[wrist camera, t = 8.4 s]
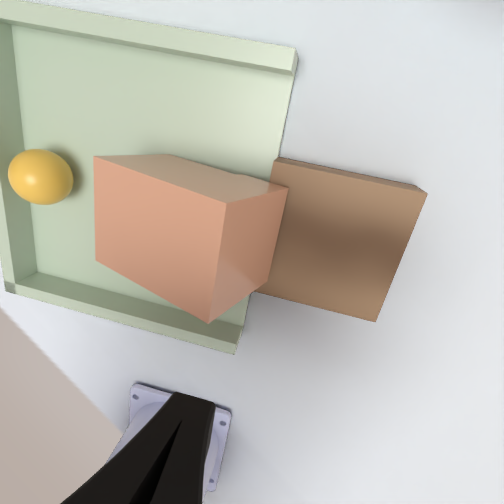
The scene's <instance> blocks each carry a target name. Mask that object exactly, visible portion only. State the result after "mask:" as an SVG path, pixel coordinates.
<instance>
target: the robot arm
mask: <svg viewBox="0 0 504 504" xmlns="http://www.w3.org/2000/svg"><path fill="white" fill-rule="evenodd" d="M230 421H231V414H230V412H229V411H227V410H224V409H220V408H217V407H216V405H215V404H214V402H211V401H207V400H204V399H200V398H197V397H193V396H190V395H186V394H182V393H179V392H175V393H173V394H170V393H167V392H163V391H160V390H156V389H153V388H150V387H146V386H143V385H140V384H134V385H133V386H132V387H131V389H130V408H129V426H128V428H127V430H126V431H125V433H124V434H123V436H122V438H121V439H120V441H119V442H118V444H117V446H116V447H115V449H114V451H113V452H112V454H111V455H110V457H109V459H108V460H107V462H106V464H105V465H104V466H103V467H102V468H101V469H100V470H99V471H98V472H97V473H96V474H94V475H93V476H92V477H91V478H90V479H89V480H88V481H87V482H85V483H84V484H83V485H82V486H81V487H80V488H78V489H77V490H76V491H75V492H74V493H73V494H72V495H71V496H69V497H68V498H67V499H65V500H64V501H63V502H62V503H61V504H202V503H203V500H204V497H205V493H206V490H207V491H210V492H212V491H215V489H216V485H217V481H218V476H219V471H220V467H221V462H222V458H223V453H224V448H225V444H226V439H227V435H228V430H229V425H230Z"/></svg>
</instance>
